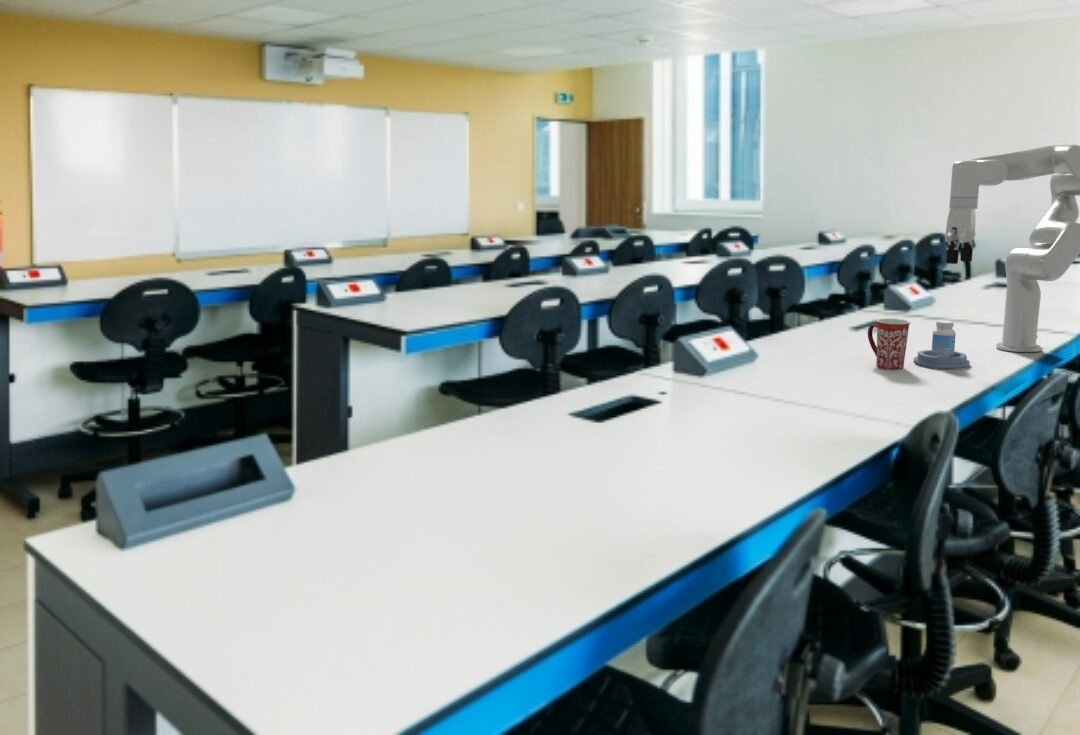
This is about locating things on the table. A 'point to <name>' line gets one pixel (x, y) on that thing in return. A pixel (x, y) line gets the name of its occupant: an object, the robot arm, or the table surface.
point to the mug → (890, 342)
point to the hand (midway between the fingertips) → (959, 262)
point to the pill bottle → (943, 339)
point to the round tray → (941, 360)
